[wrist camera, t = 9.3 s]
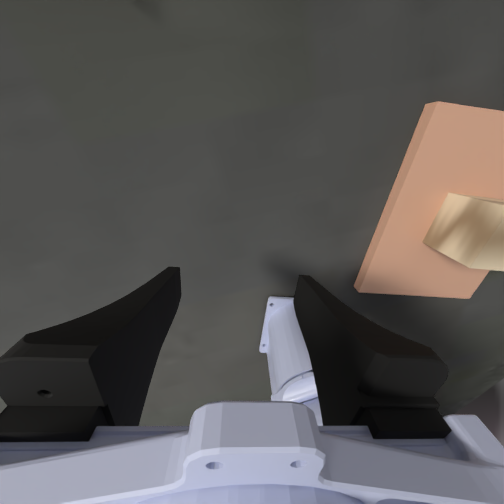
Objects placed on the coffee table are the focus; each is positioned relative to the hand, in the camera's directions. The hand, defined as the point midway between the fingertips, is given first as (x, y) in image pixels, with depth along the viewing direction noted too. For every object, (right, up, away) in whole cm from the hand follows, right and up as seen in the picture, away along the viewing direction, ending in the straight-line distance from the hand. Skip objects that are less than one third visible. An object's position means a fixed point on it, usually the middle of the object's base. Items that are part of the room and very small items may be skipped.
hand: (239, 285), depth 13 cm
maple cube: (+21, +5, +8) cm, 23 cm away
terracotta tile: (+21, +5, +9) cm, 23 cm away
